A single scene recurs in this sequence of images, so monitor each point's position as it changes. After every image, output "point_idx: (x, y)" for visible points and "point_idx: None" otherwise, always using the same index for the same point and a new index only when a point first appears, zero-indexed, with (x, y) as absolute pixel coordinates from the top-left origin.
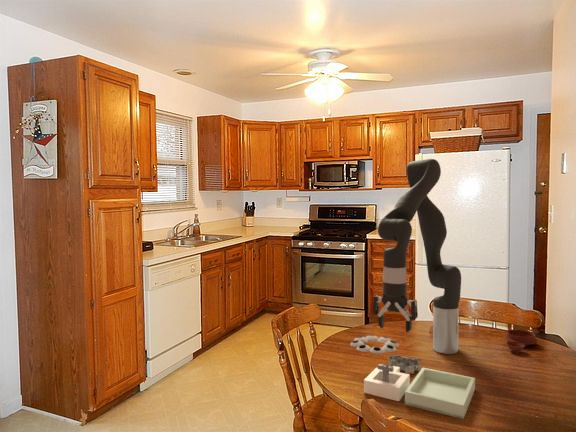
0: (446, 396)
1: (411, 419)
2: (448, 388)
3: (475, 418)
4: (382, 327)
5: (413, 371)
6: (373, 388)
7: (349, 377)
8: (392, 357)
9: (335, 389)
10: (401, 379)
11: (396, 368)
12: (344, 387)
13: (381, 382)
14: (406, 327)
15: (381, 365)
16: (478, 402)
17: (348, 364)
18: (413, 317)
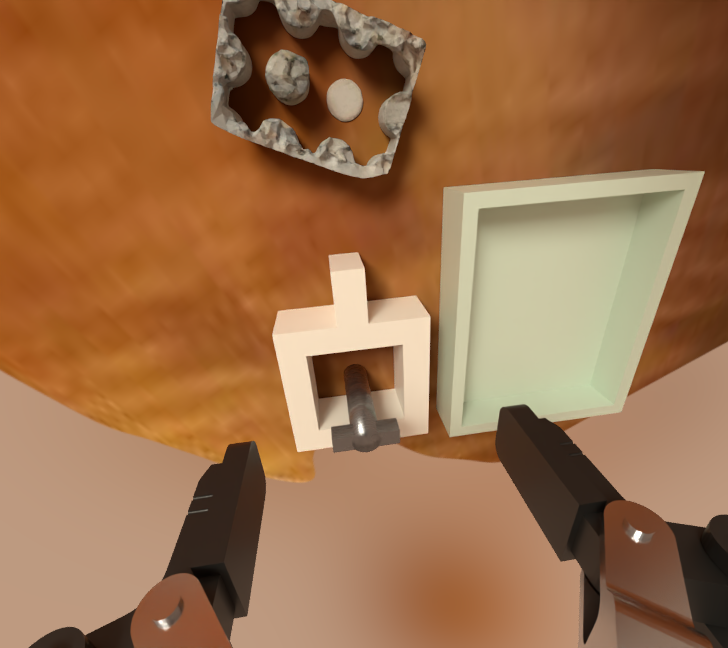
0: (553, 312)
1: (470, 454)
2: (559, 245)
3: None
4: (263, 478)
5: (390, 144)
6: None
7: (181, 356)
8: (232, 69)
9: (212, 449)
10: (414, 375)
11: (357, 292)
12: (225, 425)
13: None
14: (526, 489)
15: (348, 446)
16: None
17: (62, 239)
18: (710, 623)
